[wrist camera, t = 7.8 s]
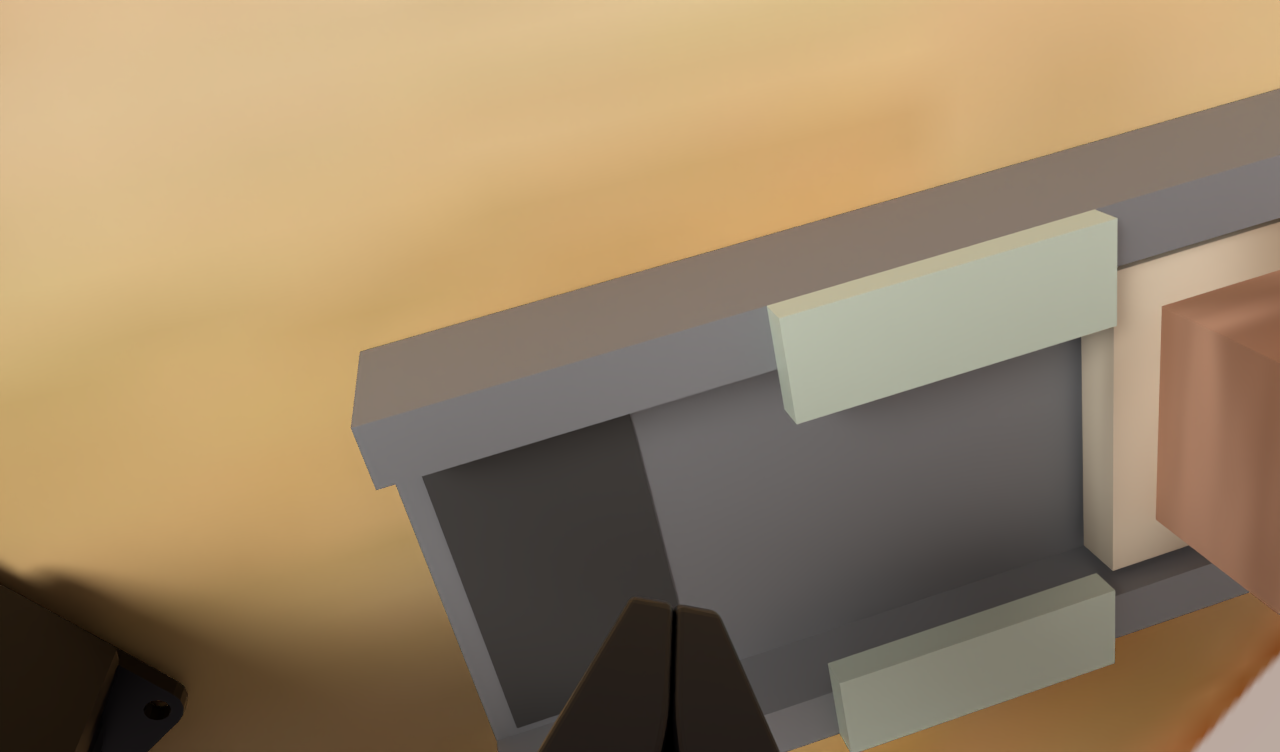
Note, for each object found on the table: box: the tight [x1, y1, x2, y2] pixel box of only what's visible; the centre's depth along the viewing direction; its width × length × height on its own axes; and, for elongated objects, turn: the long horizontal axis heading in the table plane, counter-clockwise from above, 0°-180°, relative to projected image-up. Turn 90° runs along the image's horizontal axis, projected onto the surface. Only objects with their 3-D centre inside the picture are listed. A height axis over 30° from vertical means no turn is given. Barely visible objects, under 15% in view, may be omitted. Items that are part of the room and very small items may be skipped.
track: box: [351, 89, 1280, 752], centre depth 20 cm, size 20×10×4 cm, turn 103°
